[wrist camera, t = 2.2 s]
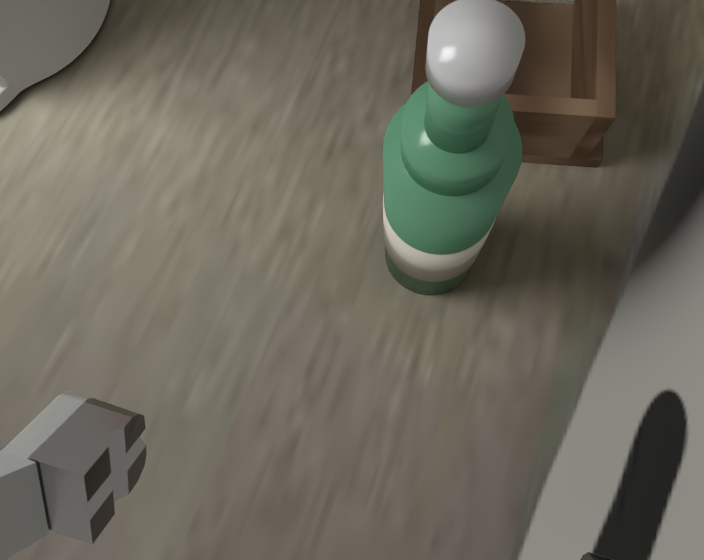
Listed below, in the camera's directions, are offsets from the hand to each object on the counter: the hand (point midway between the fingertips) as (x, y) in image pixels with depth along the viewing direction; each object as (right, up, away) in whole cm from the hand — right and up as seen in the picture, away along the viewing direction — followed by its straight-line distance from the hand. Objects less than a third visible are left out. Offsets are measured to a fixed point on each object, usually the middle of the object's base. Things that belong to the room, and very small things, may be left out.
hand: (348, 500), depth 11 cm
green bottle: (+5, +6, +26) cm, 27 cm away
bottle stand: (+10, +17, +29) cm, 35 cm away
